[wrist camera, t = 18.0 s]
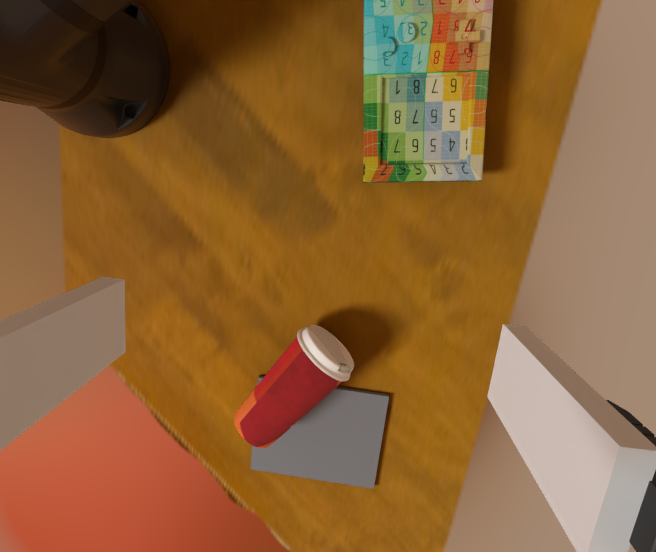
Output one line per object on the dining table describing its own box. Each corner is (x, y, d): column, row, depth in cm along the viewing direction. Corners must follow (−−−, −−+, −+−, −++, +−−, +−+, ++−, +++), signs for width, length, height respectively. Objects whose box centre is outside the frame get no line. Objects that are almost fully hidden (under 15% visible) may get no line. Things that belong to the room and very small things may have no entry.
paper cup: (288, 456, 51) (368, 377, 48) (240, 457, 45) (327, 366, 42) (263, 403, 56) (334, 328, 53) (217, 398, 50) (293, 313, 47)
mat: (251, 466, 56) (250, 469, 55) (259, 375, 53) (258, 377, 52) (373, 485, 55) (373, 488, 55) (389, 394, 52) (389, 396, 52)
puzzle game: (499, -56, 37) (484, 180, 42) (484, -31, 42) (472, 180, 46) (363, -48, 38) (363, 182, 43) (363, -24, 43) (363, 182, 47)
